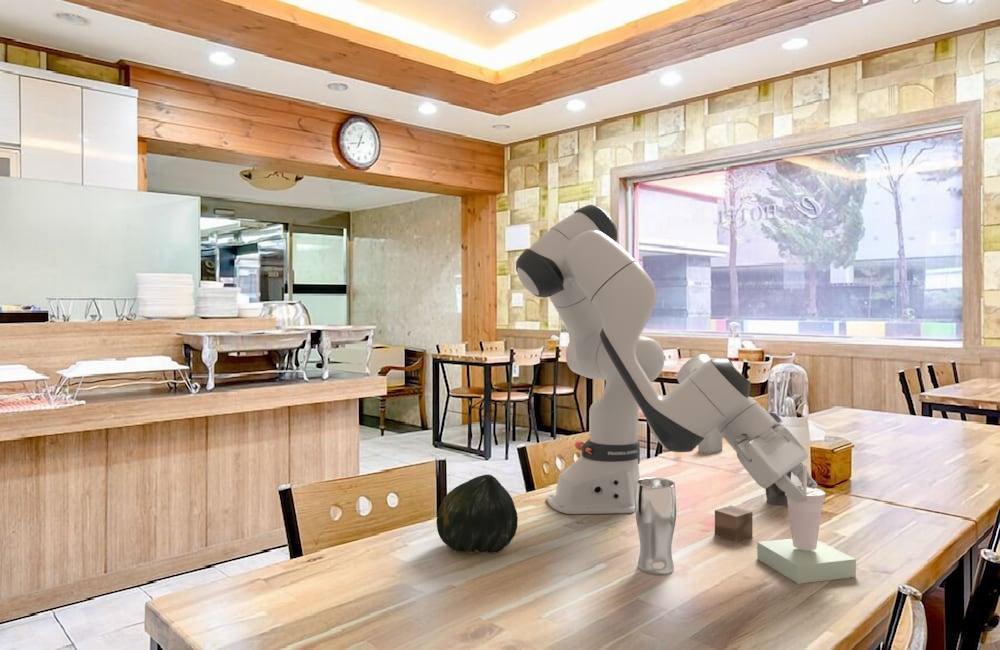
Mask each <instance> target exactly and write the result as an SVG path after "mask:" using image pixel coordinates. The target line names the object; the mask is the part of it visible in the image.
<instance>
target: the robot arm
mask: <svg viewBox="0 0 1000 650" xmlns="http://www.w3.org/2000/svg"><path fill="white" fill-rule="evenodd" d="M617 240H618V229H617V226H616V223H615V222H614V220H613V219H612V217H611V216H610V214H608V212H607V211H606V210H604V209H603V208H601V207H600V206H598V205H594V204H588V205H585V206H582V207H581V208H578V209H576V210H575V211H574V212H573V213H572V214H571V215H569V216H567V217H565V218H563V219H562V220H561V221H559V222H558V223H555V225H554V226H552V227H551V228H550V229H549V230H548V231H547V232H546V233H545V234H543V235H542V236H541V237H540V238H539V239H537V240H536V241H534V243H533V244H532V245H531V246H530V247H529V248H526V249H525V250H524V251H523V252H522V253H521V254H520V255H519V256H518V258H517V259H516V261H515V271H516V273H517V275H518V279H519V281H520V283H521V285H522V286H523V287H524V288H525V289H526V290H528V291H529V292H530V293H531V294H532V295H534V296H535V297H538V298H542V299H543V298H545V299H546V298H549V300H550V302H551V304H553V306H554V308H555V310H556V312H557V313H558V315H559V316H560V319H561V320H562V322H563V323H564V325H565V328H566V329H567V333H568V335H569V340H570V341H569V342H568V344H567V347H566V350H565V360H566V364H567V367H568V368H569V369H570V371H572V372H573V373H575V374H577V375H579V376H581V377H585V378H588V379H592V380H599V381H600V380H601V381H605V387H604V391H603V393H602V395H601V396H600V397H599V398H597V399H596V400H595V401H593V402H592V404H591V405H590V407H589V409H588V410H589V411H588V413H589V416H588V419H589V421H588V422H589V423H588V424H589V425H588V426H589V427H588V428H589V431H588V433H589V437H588V440H586V441H585V442H583V441H582V440H576V441H575V443H574V447H575V449H577V450H579V451H581V455H580V457H579V458H578V459H577V460H575V461H574V462H573V463H572V464H570V465H569V466H568V467H566V468H564V469H563V470H562V471H561V472H560V474H559V475H558V479H557V483H556V484H557V485H556V488H555V489H556V490H555V492H550V493H548V494H547V496H546V502H547V504H548V505H549V506H550V507H551V508H552V509H554V510H555V511H557V512H560V513H563V514H567V515H586V514H587V515H590V514H600V515H601V514H633V513H634V512H635V496H636V481H637V480H639V479H641V478H640V468H639V467H640V466H639V464H640V462H641V458H640V457H641V449H640V448H641V447H640V446H641V445H640V441H639V439H638V438H639V437H638V435H639V434H638V433H639V410H641V412H642V413H643V415H644V417H645V419H646V421H647V423H648V426H649V429H650V431H651V433H652V434H653V437H654V438H655V439H656V441H657V442H658V443H659V444H660V445H661V446H662V447H663V448H665V449H666V450H668V452H673V453H688V452H689V453H690V452H693V450H694V449H695V448H697V447H698V444H699V443H700V442H701V441H702V440H703V439H704V437H705V436H707V435H708V434H709V433H710V432H711V431H713V430H714V429H715V428H717V430H718V432H719V433H720V434H721V435H722V439H724V440H725V441H726V442H727V444H728V445H729V446H730V447H731V448H732V449H733V450H734V451H735V453H736V457H737V459H738V461H739V462H740V464H741V465H742V466H743V468H744V469H745V470H746V472H747V473H748V474H749V475H750V476H751V478H752V479H753V480H754V481H755V482H756V484H757V485H759V486H760V488H762V489H765V490H766V488H768V487H769V486H771V485H772V484H773V483H775V484H776V485H777V486H778V487H779V489H781V490H782V491H784V492H785V493H787V494H788V495H790V496H791V497H792V498H793V499H794V501H795V502H800V501H801V500H803V499H804V498H805V497H806V493H805V492H804V491H803V490H802V489H801V488H800V487H799V488H798V487H797V486H798V485H796V484H795V483H794V482H792V481H790V480H792V478H791V479H790V478H789V477H788V476H787V475H786V474H787V473H788V472H790V471H791V474H793V476H795V477H797V479H798V480H799V481H800V483H801V486H803V465H804V464H803V462H804V461H805V460H807V459H808V458H809V455H808V452H807V451H806V449H805V448H804V447H803V444H801V442H799V441H798V439H797V438H796V437H795V435H793V434H792V431H790V430H789V429H788V428H787V427H786V426H785V425H783V424H782V423H783V419H782V418H781V417H780V416H779V414H777V413H775V412H771V411H768V410H767V409H765V408H764V407H763V406H762V405H761V404H760V403H759V402H758V401H757V400H755V398H752V397H751V396H750V391H751V381H750V380H749V379H747V378H746V377H745V376H744V375H743V374H742V373H741V372H740V371H739V370H738V369H737V367H735V366H734V364H733V363H732V361H731V360H730V359H727V358H713V357H711V356H710V355H709V354H705V353H701V354H698V355H695V356H693V357H691V358H690V359H689V360H688V361H686V362H685V363H684V364H683V365H682V367H681V368H680V369H679V371H678V373H677V377H676V379H677V382H678V385H677V386H675V387H674V388H672V389H671V391H669V392H668V393H667V394H665V395H661V394H659V393H658V391H657V390H656V388H655V387H654V385H653V383H652V382H654V381H655V380H656V379H657V378H658V377H659V376H660V375H661V374H662V371H663V369H664V365H665V353H664V350H663V348H662V346H661V344H660V342H658V341H657V340H655V339H653V338H650V337H648V336H644V335H642V333H643V332H644V329H645V328H646V325H647V323H648V321H649V320H650V317H651V316H652V314H653V311H654V309H655V308H654V307H655V304H656V299H657V291H656V290H657V289H656V287H655V283H654V281H653V280H652V279H651V277H650V275H649V274H648V273H647V271H646V270H645V268H644V267H642V265H641V264H640V263H639V262H638V261H637V260H636V259H635V258H634V257H633V256H632V255H631V254H630V253H629V252H628V251H627V250H626V249H625V248H623V247H622V245H620V244H619V243H618V241H617ZM807 487H813V488H817V487H818V483H817V482H816V481H815V480H814V478H812V475H811V474H810V472H809V470H808V469H807Z"/></svg>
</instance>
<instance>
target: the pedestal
mask: <svg viewBox="0 0 1000 650" xmlns="http://www.w3.org/2000/svg"><path fill="white" fill-rule="evenodd" d="M756 544H757V545H756V546H757V548H756V549H757V556H756V557H757V560H759V561H761V562H762V563H764V564H766V565H767V566H768V567H770V568H772V569H774V570H775V571H776V572H778V573H780V574H781V575H783V576H785V577H786V578H788V579H790V580H791V581H793V582H794V583H796V584H809V583H816V582H824V581H825V582H826V581H833V580H841V579H851V578H850V577H852V578H856V577H857V575H856V574H857V572H856V571H857V559H856V558H855V557H852V556H850V555H849V554H846V553H844V552H842V551H840V550H839V549H836V548H834V547H833V546H830V545H828V544H827V543H825V542H823V541H821V540H818V541H817V548H816V549H815V550H802V549H798V548H796V547H794V546H793V541H792V538H786V539H783V538H782V539H774V540H763V541H757V543H756Z"/></svg>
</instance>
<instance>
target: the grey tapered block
mask: <svg viewBox="0 0 1000 650" xmlns="http://www.w3.org/2000/svg"><path fill="white" fill-rule="evenodd" d="M697 447H698V451H700V452H699V453H703V452H704V454H708V453H709V454H713V452H714V453H717V452H722V451H723V437H722V435H721V434H720V433H719V432H718V430H717V428H715V429H714V430H713V431H711V432H710V433H709V434H708V435H707V436H705V437H704V439H703V440H702V441H701V442H700V443H699V444H698V445H697ZM698 451H697V452H698Z"/></svg>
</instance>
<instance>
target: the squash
mask: <svg viewBox="0 0 1000 650" xmlns="http://www.w3.org/2000/svg"><path fill="white" fill-rule="evenodd" d="M518 521H519V520H518V511H517V508H516V506H515V503H514V500H513V498H512V496H511V494H510V493H509V492H508V490H507V489H506V488H505V487H504V486H503V485H502V484H501V483H500V481H499V480H498V479H497V478H496V477H495V476H493V475H492V474H483V475H479V476H476V477H473V478H471V479H470V480H467V481H466V482H463V483H461V484H459V485H457V486H456V487H454V488H453V489H451V490H449V492H448V493H447V494H446V495H445V496H444V497H443V499H442V502H441V504H440V505H439V507H438V510H437V514H436V528H437V529H436V530H437V534H438V536H439V538H440V540H441V541H442V543H444V544H445V545H446V547H448V548H449V549H450V550H451V551H454V552H456V553H461V552H463V553H464V552H465V551H466V552H467V553H474V552H475V551H477V552H478V553H489V554H497V553H500V552H502V551H503V550H504V549H505V548H506V547H507V546H509V544H510V543H511V542H512V541H513V539H514V537H515V535H516V534H517V533H516V532H517V529H518V523H519V522H518Z"/></svg>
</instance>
